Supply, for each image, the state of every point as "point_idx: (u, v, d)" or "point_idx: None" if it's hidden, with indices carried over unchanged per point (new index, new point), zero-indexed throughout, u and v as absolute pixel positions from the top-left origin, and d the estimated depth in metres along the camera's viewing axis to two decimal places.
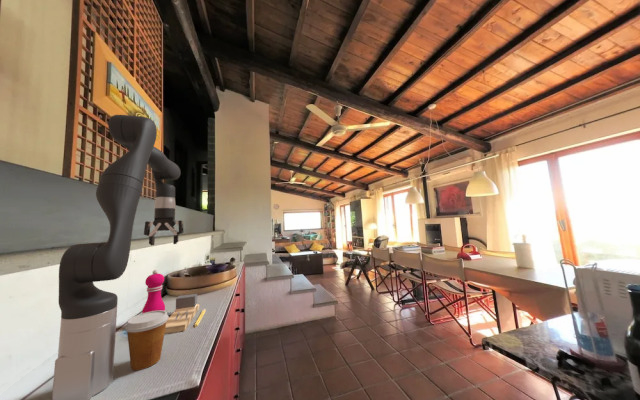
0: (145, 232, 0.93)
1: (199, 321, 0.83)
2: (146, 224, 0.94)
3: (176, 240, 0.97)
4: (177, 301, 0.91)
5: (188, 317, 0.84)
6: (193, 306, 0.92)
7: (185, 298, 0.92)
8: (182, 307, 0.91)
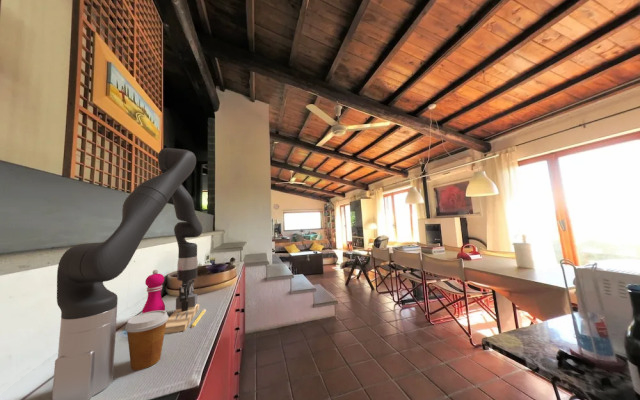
0: (186, 298, 0.89)
1: (197, 321, 0.83)
2: (186, 290, 0.89)
3: None
4: (177, 301, 0.91)
5: (188, 317, 0.84)
6: (193, 306, 0.92)
7: None
8: None
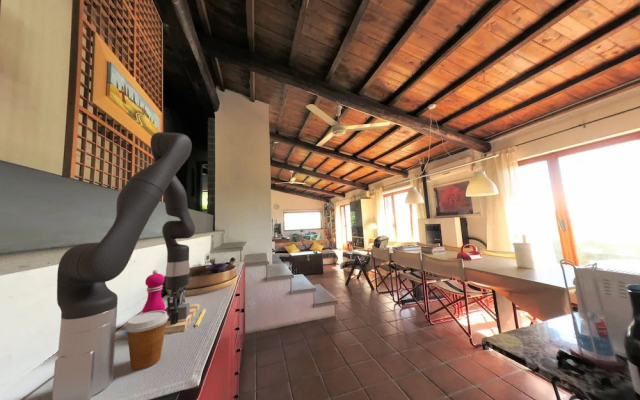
0: (176, 308, 0.77)
1: (200, 321, 0.83)
2: (175, 300, 0.77)
3: None
4: None
5: None
6: (184, 318, 0.80)
7: None
8: None
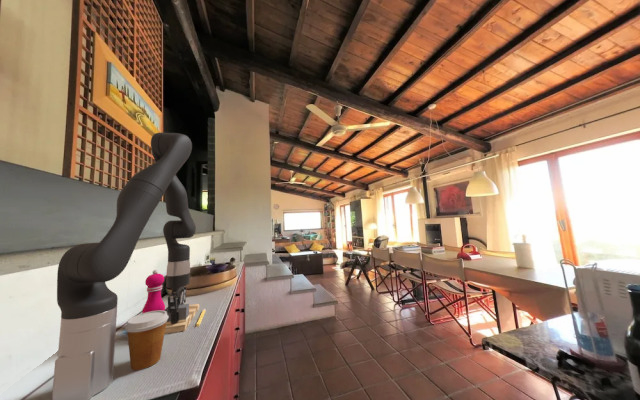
0: (177, 308, 0.77)
1: (200, 321, 0.84)
2: (176, 299, 0.77)
3: None
4: None
5: None
6: (184, 318, 0.80)
7: None
8: None
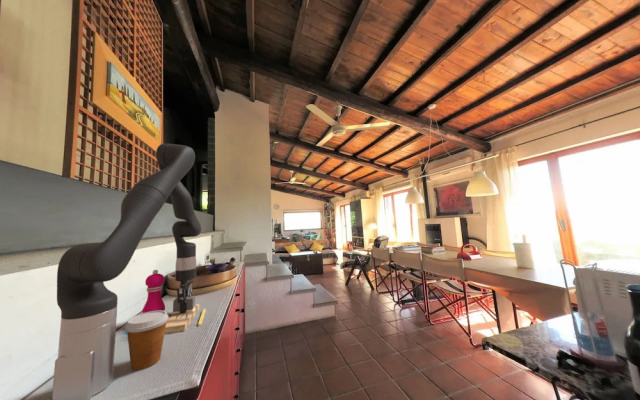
0: (185, 299, 0.87)
1: None
2: (184, 291, 0.86)
3: None
4: (174, 304, 0.88)
5: (188, 317, 0.84)
6: (191, 309, 0.89)
7: None
8: (179, 310, 0.88)
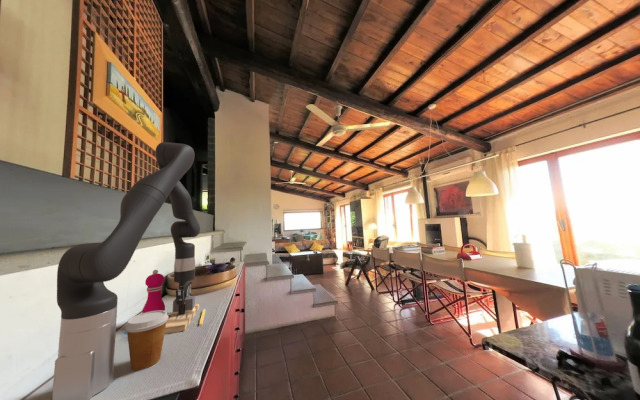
0: (183, 300, 0.86)
1: (202, 320, 0.84)
2: (183, 292, 0.85)
3: None
4: (174, 304, 0.87)
5: (188, 317, 0.84)
6: (191, 309, 0.89)
7: None
8: None
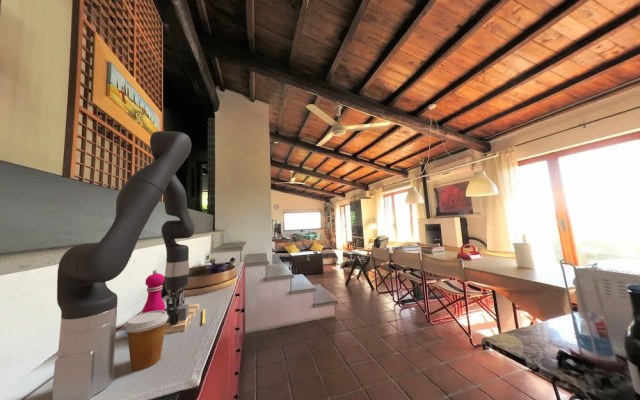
0: (176, 309, 0.76)
1: None
2: (175, 301, 0.76)
3: None
4: None
5: None
6: (184, 319, 0.79)
7: None
8: None
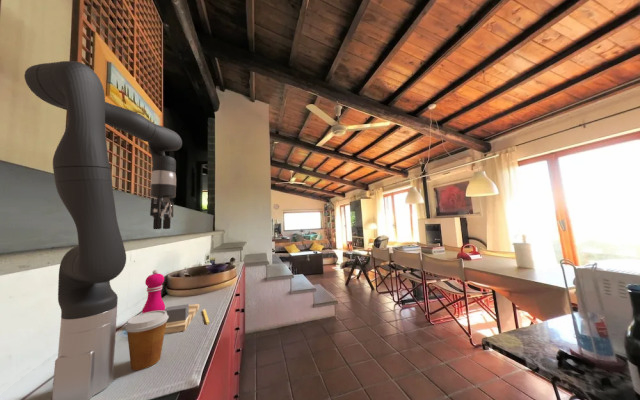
0: (159, 212, 0.73)
1: None
2: (160, 202, 0.74)
3: None
4: None
5: None
6: (184, 319, 0.79)
7: (174, 310, 0.79)
8: (171, 321, 0.78)
